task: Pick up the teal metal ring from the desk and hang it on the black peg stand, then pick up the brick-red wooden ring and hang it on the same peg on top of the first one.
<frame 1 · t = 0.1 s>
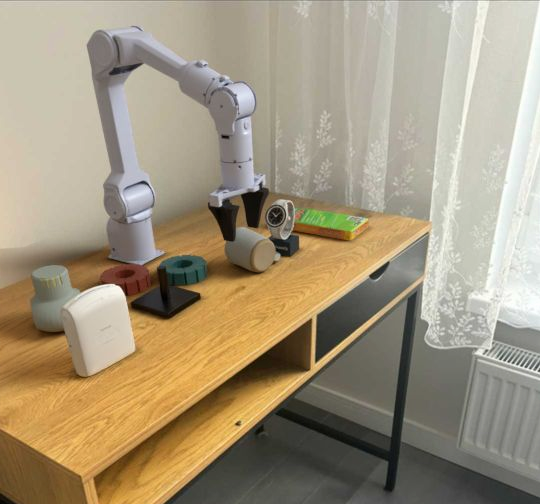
hand: (241, 233, 113), 10 cm above the table, tool pointing down, fingers open, 7 cm apart
teal ring: (184, 275, 122), on the table
peg stand: (166, 303, 112), on the table
ceramic mug: (256, 266, 125), on the table
game box: (319, 228, 142), on the table
watch: (283, 252, 131), on the table
brick ring: (126, 285, 119), on the table
photo printer: (106, 362, 95), on the table
air freshener: (62, 325, 107), on the table
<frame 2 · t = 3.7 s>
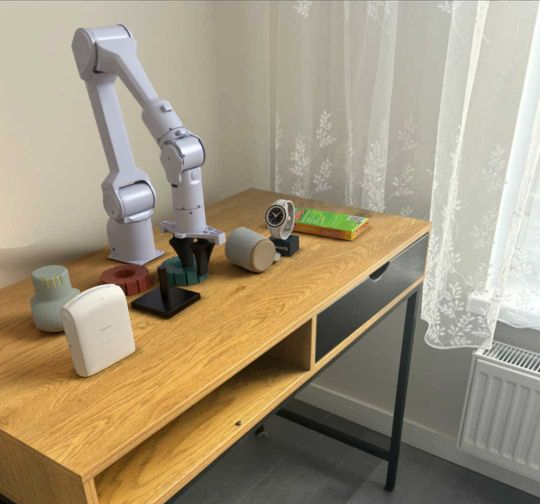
hand: (196, 272, 120), 1 cm above the table, tool pointing down, fingers closed on teal ring, 3 cm apart
teal ring: (185, 276, 122), on the table, touching gripper
everything else where it was.
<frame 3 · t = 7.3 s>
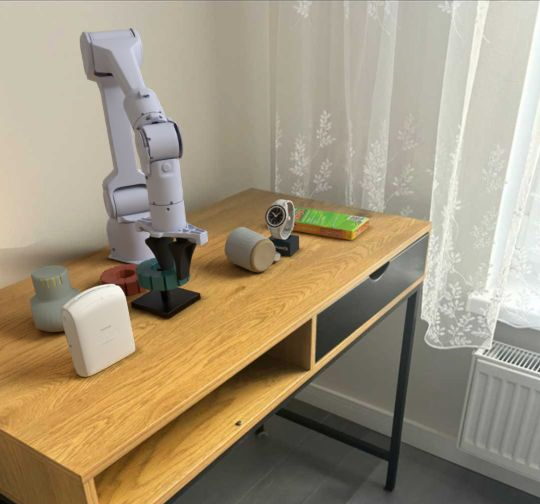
hand: (176, 275, 107), 6 cm above the table, tool pointing down, fingers closed on teal ring, 3 cm apart
teal ring: (164, 279, 109), point 5 cm above the table, touching gripper
everything else where it was.
when the fingers open (9 cm above the table, at t = 18.1 s): teal ring drops 7 cm, resting on peg stand.
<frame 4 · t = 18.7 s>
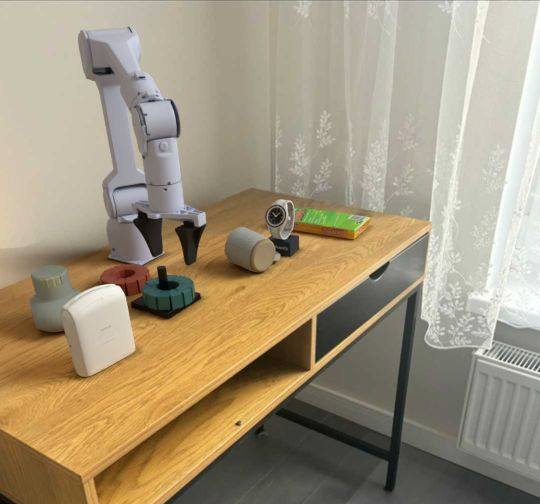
hand: (173, 259, 105), 9 cm above the table, tool pointing down, fingers open, 7 cm apart
teal ring: (169, 298, 111), point 1 cm above the table, touching peg stand
everything else where it was.
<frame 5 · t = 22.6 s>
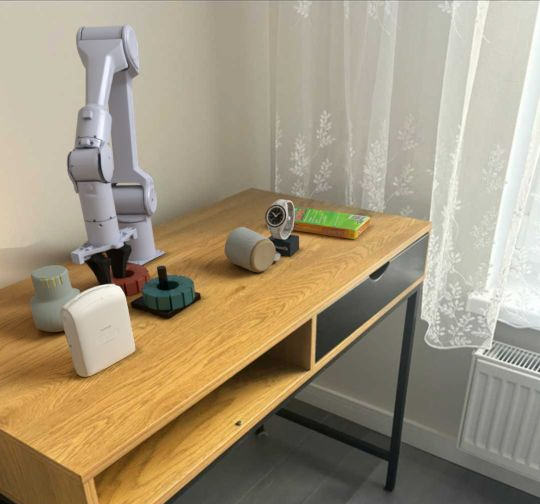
hand: (113, 285, 116), 1 cm above the table, tool pointing down, fingers closed on brick ring, 3 cm apart
brick ring: (126, 286, 119), on the table, touching gripper
everything else where it was.
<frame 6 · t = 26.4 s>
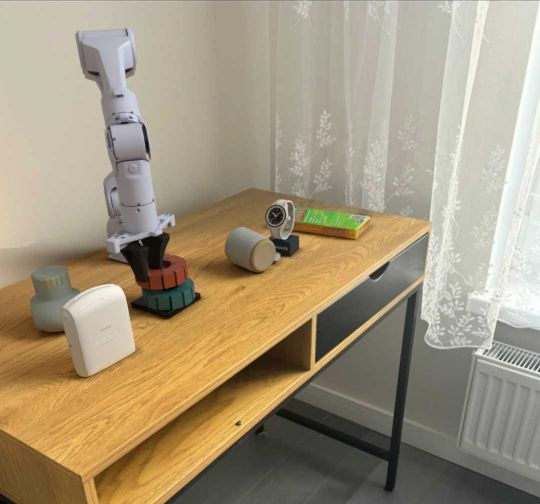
hand: (149, 277, 106), 7 cm above the table, tool pointing down, fingers closed on brick ring, 3 cm apart
brick ring: (162, 278, 109), point 5 cm above the table, touching gripper
everything else where it was.
when the fingers open (9 cm above the table, at t = 36.8 s): brick ring drops 4 cm, resting on teal ring.
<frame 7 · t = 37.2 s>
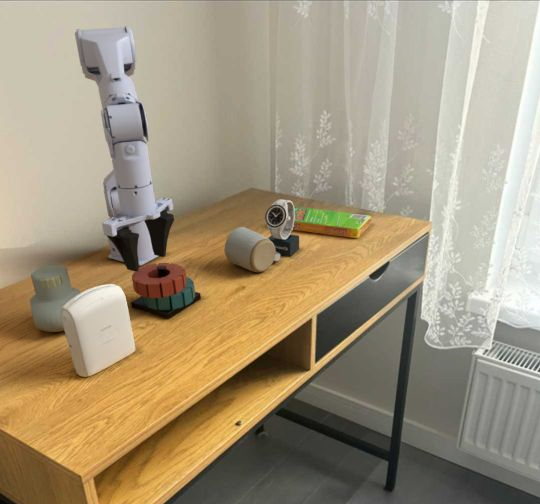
hand: (146, 262, 105), 9 cm above the table, tool pointing down, fingers open, 6 cm apart
teal ring: (169, 298, 111), point 1 cm above the table, touching brick ring, peg stand
brick ring: (160, 286, 109), point 4 cm above the table, touching teal ring
everything else where it was.
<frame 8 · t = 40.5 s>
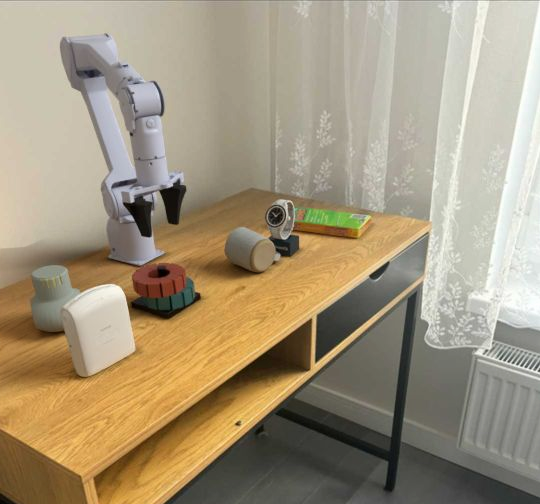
hand: (160, 230, 115), 10 cm above the table, tool pointing down, fingers open, 7 cm apart
at the end: teal ring 0.9 cm off-centre on the peg stand, point 1.2 cm above the peg stand's base; brick ring 0.9 cm off-centre on the peg stand, point 3.8 cm above the peg stand's base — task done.
